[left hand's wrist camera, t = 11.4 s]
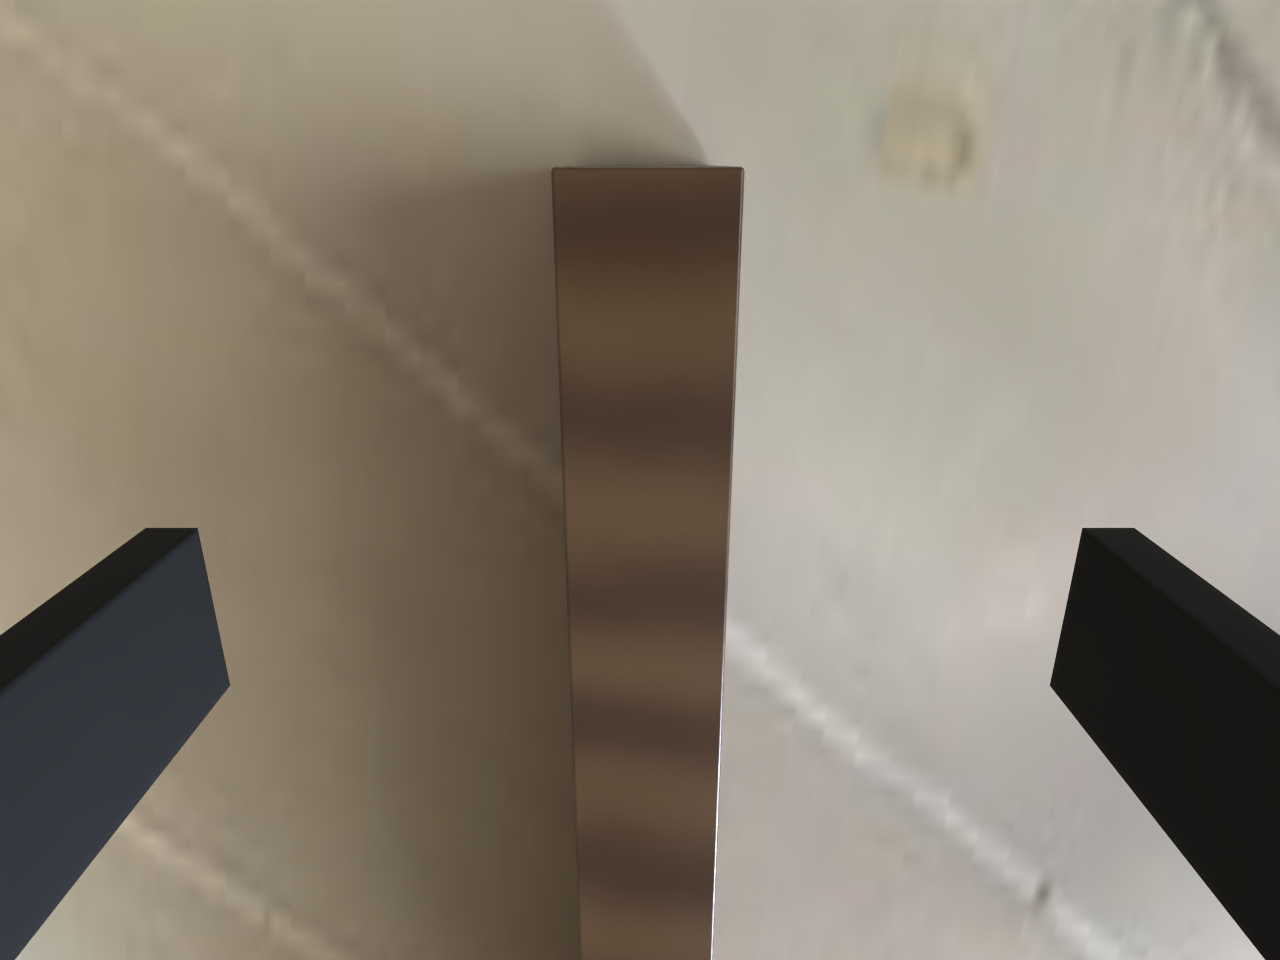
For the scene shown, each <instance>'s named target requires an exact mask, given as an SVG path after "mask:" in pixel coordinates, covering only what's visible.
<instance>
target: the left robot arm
mask: <svg viewBox="0 0 1280 960" xmlns="http://www.w3.org/2000/svg"><path fill="white" fill-rule="evenodd" d="M229 686H230V683H229V678H228V673H227V668H226V664H225V659H224V654H223V649H222V644H221V639H220V635H219V630H218V625H217V620H216V615H215V610H214V606H213V601H212V596H211V591H210V586H209V581H208V576H207V572H206V567H205V562H204V557H203V552H202V547H201V543H200V538H199V533H198V528H145V529H144V530H143V531H141V532H140V533H138V534H137V535H136V536H134V537H133V538H132V539H130V540H129V541H128V542H126V543H125V544H124V545H122V546H121V547H119V548H118V549H117V550H115V551H114V552H113V553H111V554H110V555H109V556H107V557H106V558H105V559H103V560H102V561H100V562H99V563H98V564H96V565H95V566H94V567H92V568H91V569H90V570H88V571H87V572H86V573H84V574H83V575H82V576H80V577H79V578H77V579H76V580H75V581H73V582H72V583H71V584H69V585H68V586H67V587H65V588H64V589H63V590H61V591H60V592H58V593H57V594H56V595H54V596H53V597H52V598H50V599H49V600H48V601H46V602H45V603H44V604H42V605H41V606H40V607H38V608H37V609H35V610H34V611H33V612H31V613H30V614H29V615H27V616H26V617H25V618H23V619H22V620H21V621H19V622H18V623H16V624H15V625H14V626H12V627H11V628H10V629H8V630H7V631H6V632H4V633H3V634H2V635H0V960H15V959H16V957H17V956H18V955H19V954H20V952H21V951H22V950H23V948H24V947H25V946H26V945H27V943H28V942H29V941H30V940H31V938H32V937H33V936H34V934H35V933H36V932H37V931H38V929H39V928H40V927H41V926H42V924H43V923H44V922H45V920H46V919H47V918H48V917H49V915H50V914H51V913H52V912H53V910H54V909H55V908H56V906H57V905H58V904H59V903H60V901H61V900H62V899H63V898H64V896H65V895H66V894H67V892H68V891H69V890H70V889H71V887H72V886H73V885H74V884H75V882H76V881H77V880H78V878H79V877H80V876H81V875H82V873H83V872H84V871H85V870H86V868H87V867H88V866H89V864H90V863H91V862H92V861H93V859H94V858H95V857H96V856H97V854H98V853H99V852H100V850H101V849H102V848H103V847H104V845H105V844H106V843H107V842H108V840H109V839H110V838H111V836H112V835H113V834H114V833H115V831H116V830H117V829H118V828H119V826H120V825H121V824H122V822H123V821H124V820H125V819H126V817H127V816H128V815H129V814H130V812H131V811H132V810H133V808H134V807H135V806H136V805H137V803H138V802H139V801H140V799H141V798H142V797H143V796H144V794H145V793H146V792H147V791H148V789H149V788H150V787H151V785H152V784H153V783H154V782H155V780H156V779H157V778H158V777H159V775H160V774H161V773H162V771H163V770H164V769H165V768H166V766H167V765H168V764H169V763H170V761H171V760H172V759H173V757H174V756H175V755H176V754H177V752H178V751H179V750H180V749H181V747H182V746H183V745H184V743H185V742H186V741H187V740H188V738H189V737H190V736H191V735H192V733H193V732H194V731H195V729H196V728H197V727H198V726H199V724H200V723H201V722H202V721H203V719H204V718H205V717H206V715H207V714H208V713H209V712H210V710H211V709H212V708H213V707H214V705H215V704H216V703H217V701H218V700H219V699H220V698H221V696H222V695H223V694H224V693H225V691H226V690H227V689H228V687H229ZM1050 686H1051V687H1052V689H1053V690H1054V691H1055V693H1056V694H1057V695H1058V696H1059V698H1060V699H1061V700H1062V701H1063V703H1064V704H1065V705H1066V707H1067V708H1068V709H1069V710H1070V712H1071V713H1072V714H1073V715H1074V717H1075V718H1076V719H1077V721H1078V722H1079V723H1080V724H1081V726H1082V727H1083V728H1084V729H1085V731H1086V732H1087V733H1088V735H1089V736H1090V737H1091V738H1092V740H1093V741H1094V742H1095V743H1096V745H1097V746H1098V747H1099V749H1100V750H1101V751H1102V752H1103V754H1104V755H1105V756H1106V757H1107V759H1108V760H1109V761H1110V763H1111V764H1112V765H1113V766H1114V768H1115V769H1116V770H1117V771H1118V773H1119V774H1120V775H1121V777H1122V778H1123V779H1124V780H1125V782H1126V783H1127V784H1128V785H1129V787H1130V788H1131V789H1132V791H1133V792H1134V793H1135V794H1136V796H1137V797H1138V798H1139V800H1140V801H1141V802H1142V803H1143V805H1144V806H1145V807H1146V808H1147V810H1148V811H1149V812H1150V814H1151V815H1152V816H1153V817H1154V819H1155V820H1156V821H1157V822H1158V824H1159V825H1160V826H1161V828H1162V829H1163V830H1164V831H1165V833H1166V834H1167V835H1168V836H1169V838H1170V839H1171V840H1172V842H1173V843H1174V844H1175V845H1176V847H1177V848H1178V849H1179V850H1180V852H1181V853H1182V854H1183V856H1184V857H1185V858H1186V859H1187V861H1188V862H1189V863H1190V864H1191V866H1192V867H1193V868H1194V870H1195V871H1196V872H1197V873H1198V875H1199V876H1200V877H1201V878H1202V880H1203V881H1204V882H1205V884H1206V885H1207V886H1208V887H1209V889H1210V890H1211V891H1212V892H1213V894H1214V895H1215V896H1216V898H1217V899H1218V900H1219V901H1220V903H1221V904H1222V905H1223V906H1224V908H1225V909H1226V910H1227V912H1228V913H1229V914H1230V915H1231V917H1232V918H1233V919H1234V920H1235V922H1236V923H1237V924H1238V926H1239V927H1240V928H1241V929H1242V931H1243V932H1244V933H1245V934H1246V936H1247V937H1248V938H1249V940H1250V941H1251V942H1252V943H1253V945H1254V946H1255V947H1256V948H1257V950H1258V951H1259V952H1260V954H1261V955H1262V956H1263V957H1264V959H1265V960H1280V635H1278V634H1277V633H1276V632H1274V631H1273V630H1272V629H1270V628H1269V627H1268V626H1266V625H1265V624H1264V623H1262V622H1261V621H1259V620H1258V619H1257V618H1255V617H1254V616H1253V615H1251V614H1250V613H1249V612H1247V611H1246V610H1245V609H1243V608H1242V607H1240V606H1239V605H1238V604H1236V603H1235V602H1234V601H1232V600H1231V599H1230V598H1228V597H1227V596H1226V595H1224V594H1223V593H1222V592H1220V591H1219V590H1217V589H1216V588H1215V587H1213V586H1212V585H1211V584H1209V583H1208V582H1207V581H1205V580H1204V579H1203V578H1201V577H1200V576H1198V575H1197V574H1196V573H1194V572H1193V571H1192V570H1190V569H1189V568H1188V567H1186V566H1185V565H1184V564H1182V563H1181V562H1180V561H1178V560H1177V559H1175V558H1174V557H1173V556H1171V555H1170V554H1169V553H1167V552H1166V551H1165V550H1163V549H1162V548H1161V547H1159V546H1158V545H1156V544H1155V543H1154V542H1152V541H1151V540H1150V539H1148V538H1147V537H1146V536H1144V535H1143V534H1142V533H1140V532H1139V531H1137V530H1136V529H1135V528H1082V533H1081V538H1080V543H1079V547H1078V552H1077V557H1076V562H1075V567H1074V572H1073V576H1072V581H1071V586H1070V591H1069V596H1068V601H1067V606H1066V610H1065V615H1064V620H1063V625H1062V630H1061V635H1060V639H1059V644H1058V649H1057V654H1056V659H1055V664H1054V668H1053V673H1052V678H1051V683H1050Z"/></svg>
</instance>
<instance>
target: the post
mask: <svg viewBox="0 0 1280 960" xmlns="http://www.w3.org/2000/svg"><path fill="white" fill-rule="evenodd" d="M551 176H552V203H553V230H554V257H555V284H556V311H557V338H558V365H559V392H560V419H561V446H562V473H563V500H564V527H565V555H566V582H567V609H568V636H569V663H570V690H571V717H572V744H573V771H574V798H575V825H576V852H577V879H578V906H579V933H580V960H712V957H713V932H714V907H715V883H716V858H717V833H718V809H719V784H720V759H721V735H722V710H723V685H724V661H725V636H726V611H727V587H728V562H729V537H730V513H731V488H732V463H733V438H734V414H735V389H736V364H737V340H738V315H739V290H740V266H741V241H742V216H743V192H744V169H743V168H742V167H731V166H567V167H554V168H552V171H551Z"/></svg>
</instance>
